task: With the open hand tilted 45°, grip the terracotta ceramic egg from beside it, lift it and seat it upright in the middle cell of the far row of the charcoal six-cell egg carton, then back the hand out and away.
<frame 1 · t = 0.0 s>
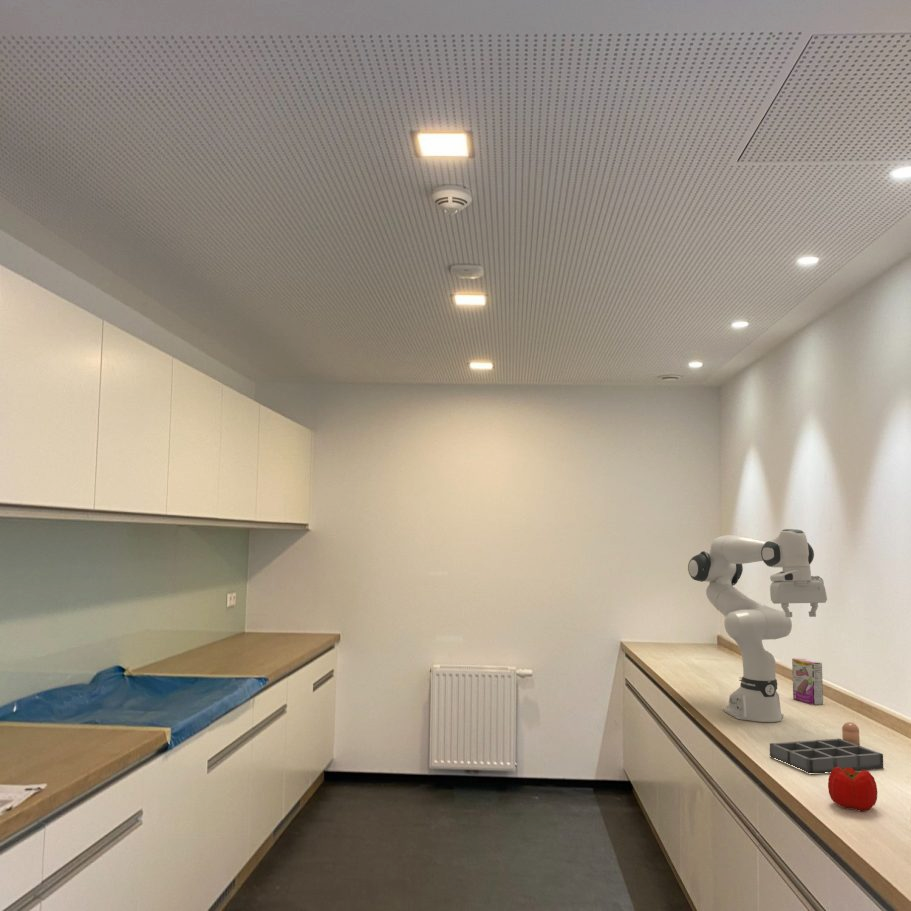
hand: (800, 617, 268), 39 cm above the worktop, tool pointing down, fingers open, 8 cm apart
candy bar box: (807, 702, 314), on the worktop
terracotta egg: (851, 748, 248), on the worktop
tomato: (852, 807, 196), on the worktop
egg carton: (825, 762, 233), on the worktop
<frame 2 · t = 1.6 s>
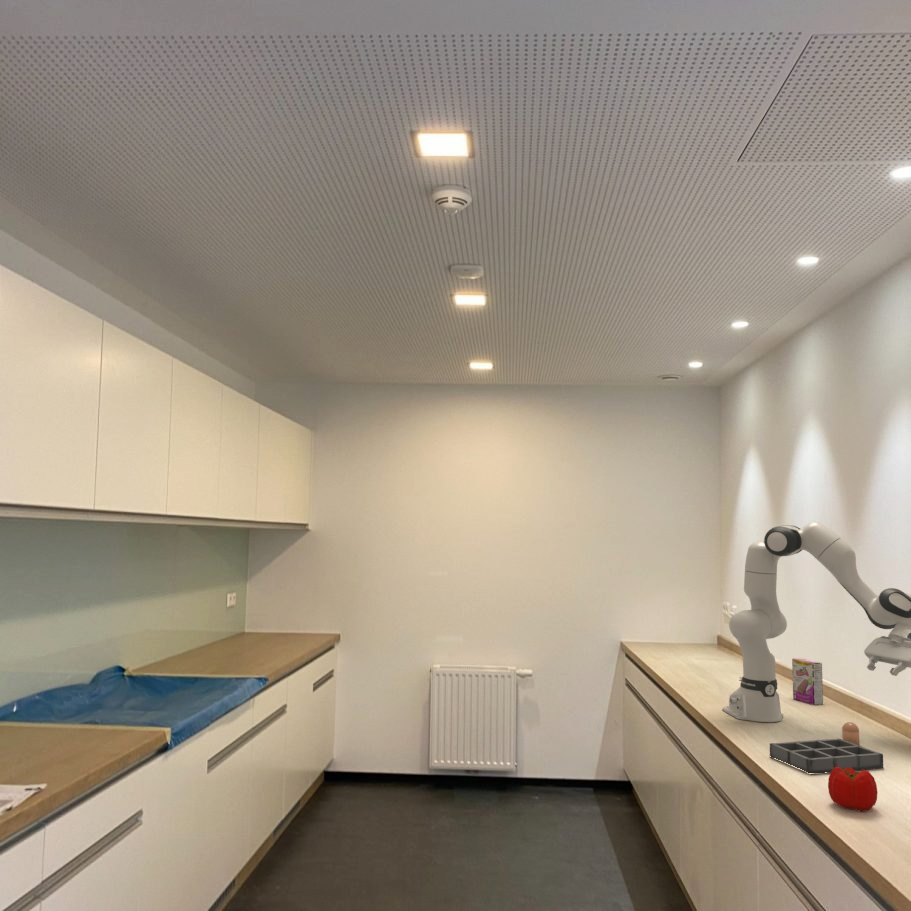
hand: (880, 671, 253), 23 cm above the worktop, tool tilted 45°, fingers open, 8 cm apart
nothing on the worktop moved.
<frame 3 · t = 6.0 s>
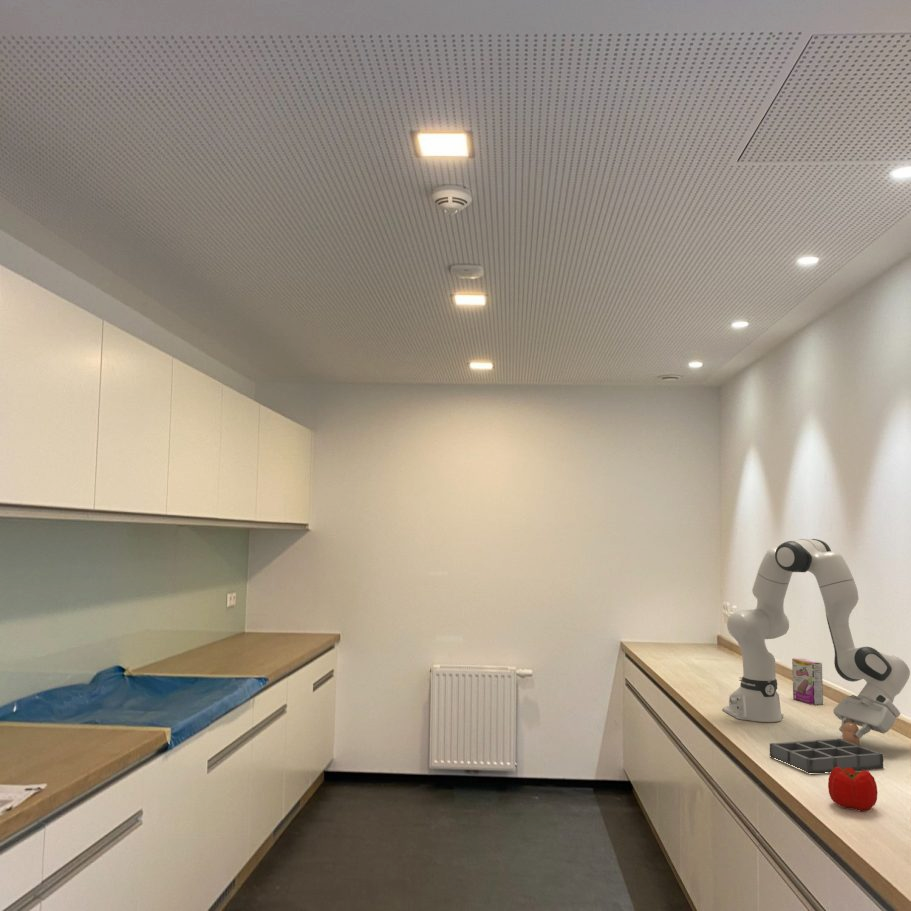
hand: (849, 734, 248), 4 cm above the worktop, tool tilted 45°, fingers closed on terracotta egg, 5 cm apart
terracotta egg: (851, 748, 248), on the worktop, touching gripper
everything else where it was.
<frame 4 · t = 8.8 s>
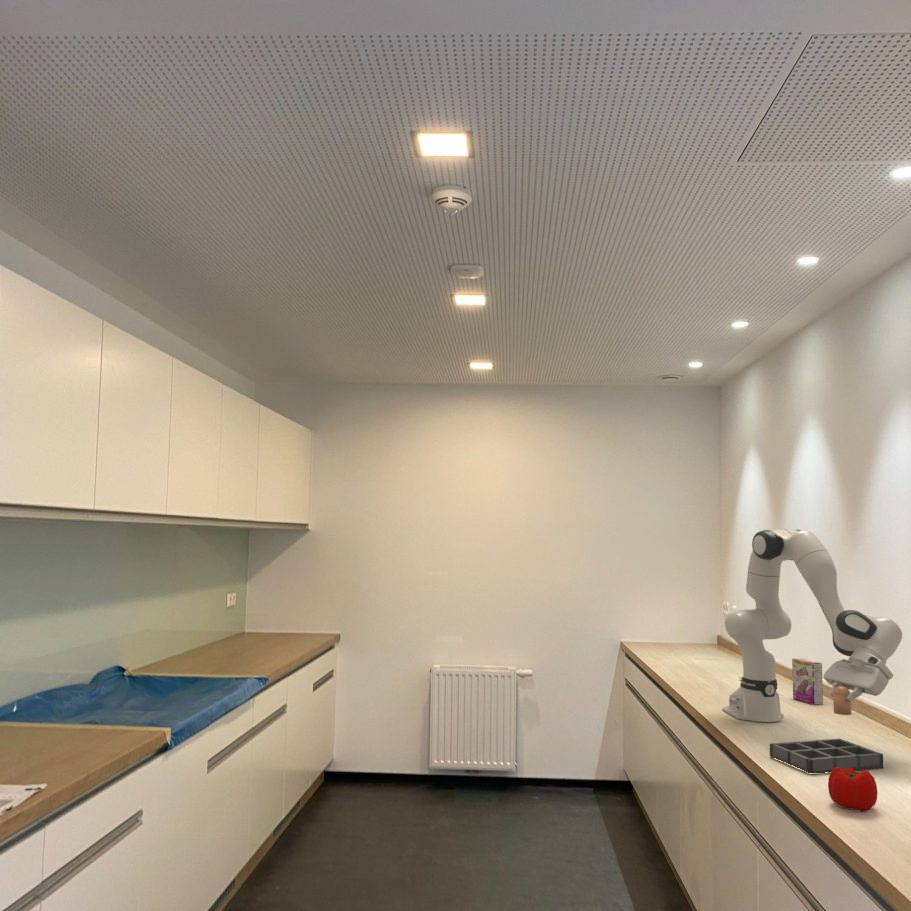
hand: (840, 698, 237), 18 cm above the worktop, tool tilted 45°, fingers closed on terracotta egg, 5 cm apart
terracotta egg: (842, 713, 237), point 14 cm above the worktop, touching gripper
everything else where it was.
when the fingers open (7 cm above the worktop, at t = 11.9 s): terracotta egg drops 1 cm, resting on egg carton.
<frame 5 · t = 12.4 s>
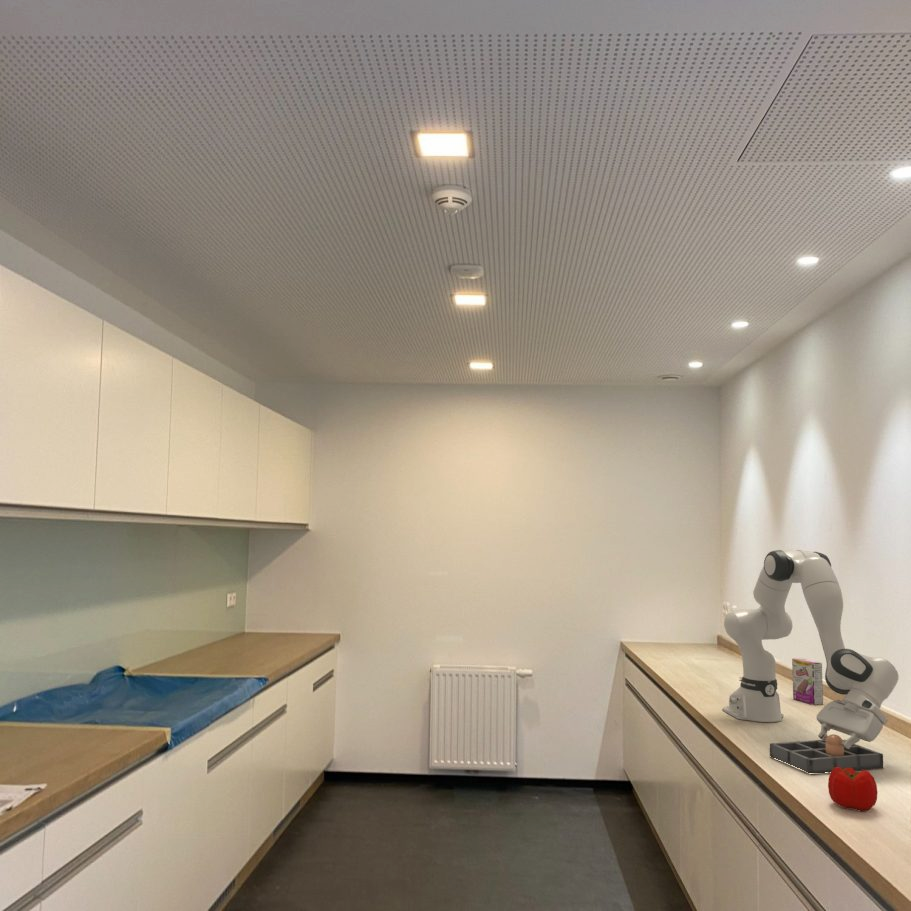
hand: (832, 742, 229), 7 cm above the worktop, tool tilted 45°, fingers open, 8 cm apart
terracotta egg: (835, 762, 229), point 1 cm above the worktop, touching egg carton
everything else where it was.
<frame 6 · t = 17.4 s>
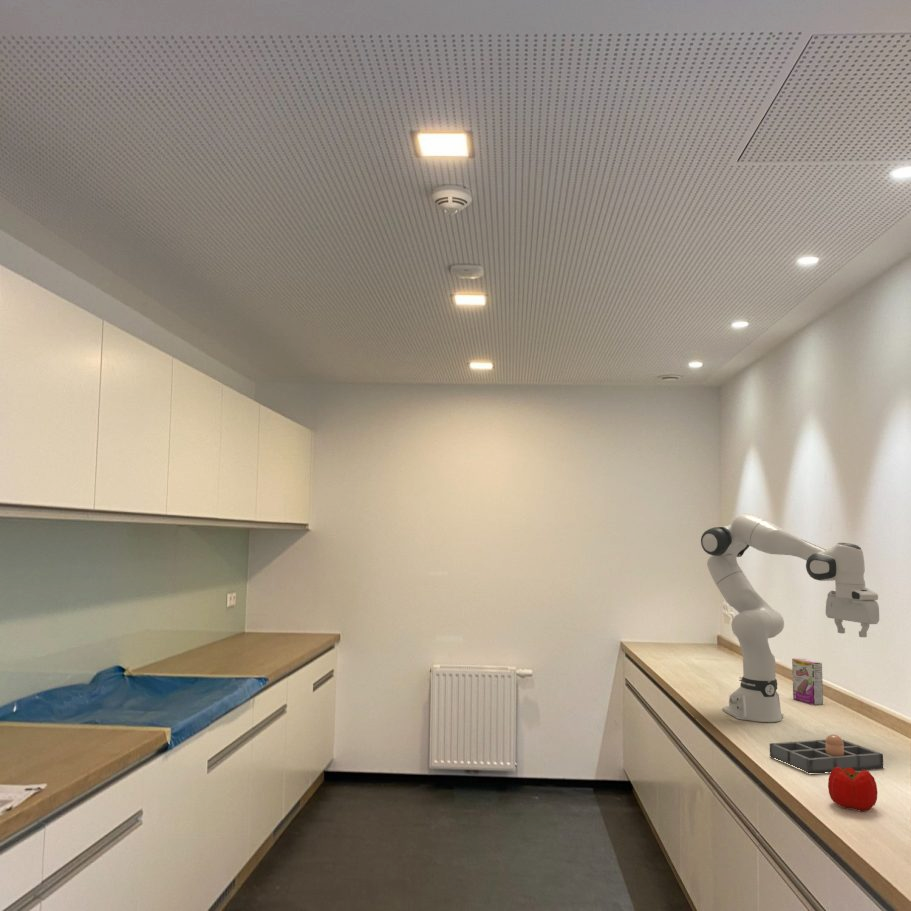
hand: (851, 635, 259), 34 cm above the worktop, tool pointing down, fingers open, 8 cm apart
nothing on the worktop moved.
at the end: terracotta egg 0.1 cm from the target spot on the egg carton, point 1.0 cm above the egg carton's base; terracotta egg tilted 0°; the gripper is holding nothing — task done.
